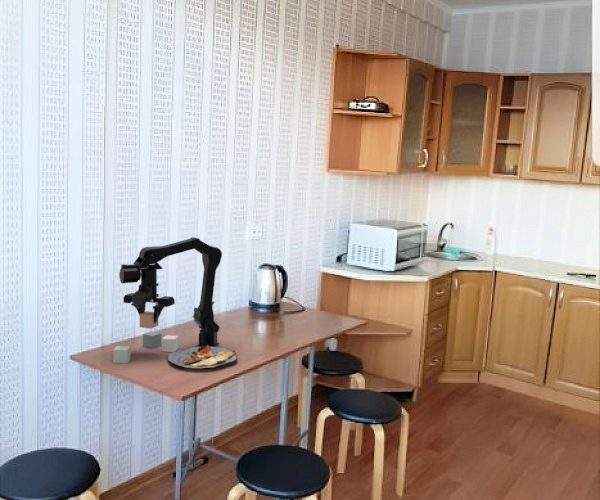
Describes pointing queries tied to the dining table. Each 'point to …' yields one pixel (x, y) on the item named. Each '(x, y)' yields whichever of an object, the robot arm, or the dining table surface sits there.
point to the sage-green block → (121, 354)
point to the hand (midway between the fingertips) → (149, 322)
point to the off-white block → (169, 343)
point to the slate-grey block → (151, 339)
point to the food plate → (203, 357)
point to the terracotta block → (147, 320)
